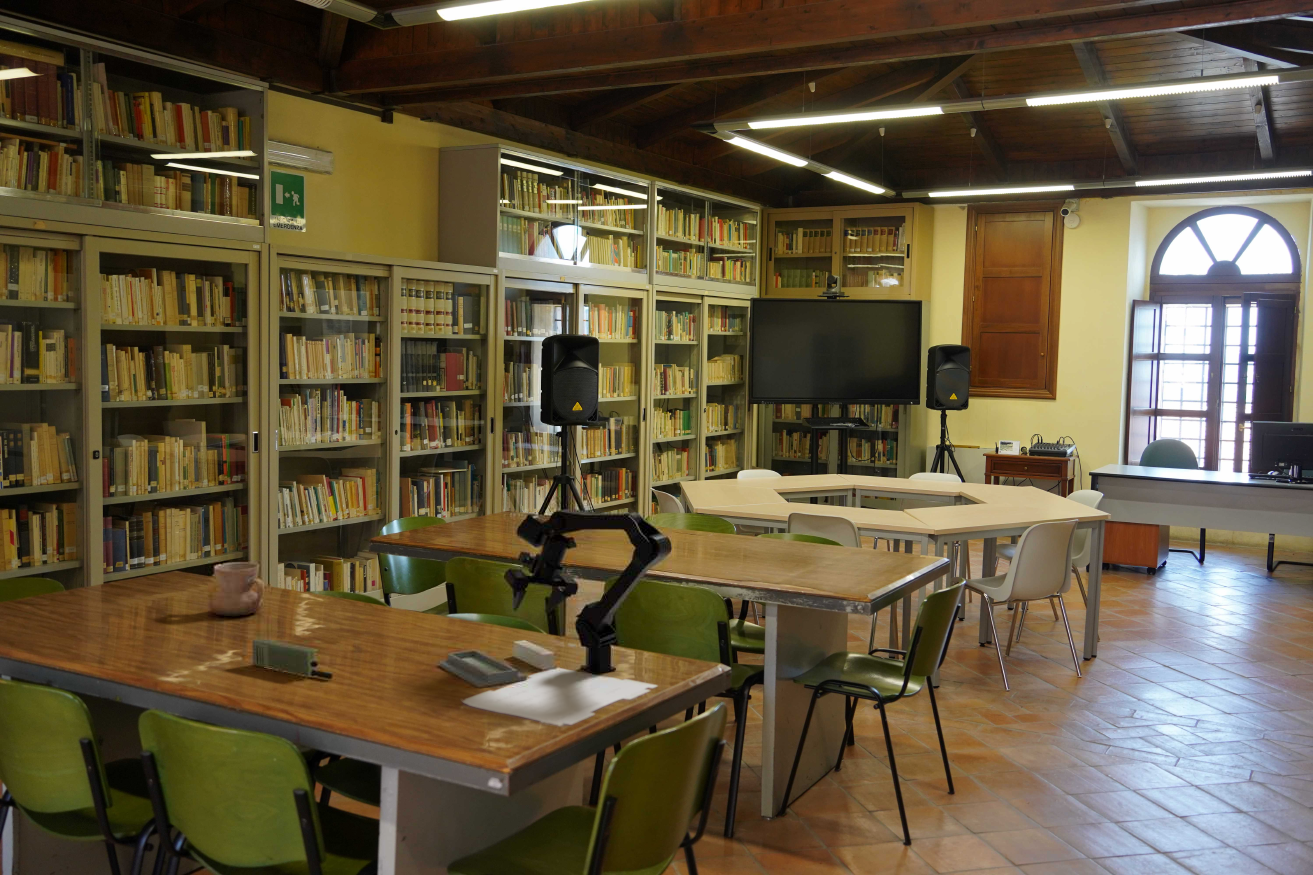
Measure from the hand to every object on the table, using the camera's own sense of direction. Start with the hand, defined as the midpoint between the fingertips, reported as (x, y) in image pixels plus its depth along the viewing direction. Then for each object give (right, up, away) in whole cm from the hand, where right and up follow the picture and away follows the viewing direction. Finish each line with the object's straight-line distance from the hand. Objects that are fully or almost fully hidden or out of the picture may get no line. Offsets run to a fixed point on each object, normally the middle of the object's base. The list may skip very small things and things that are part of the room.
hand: (530, 611), depth 264 cm
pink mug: (-90, -8, +44) cm, 100 cm away
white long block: (+1, -12, -3) cm, 13 cm away
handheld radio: (-54, -12, -17) cm, 57 cm away
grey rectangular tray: (-10, -12, -14) cm, 21 cm away
